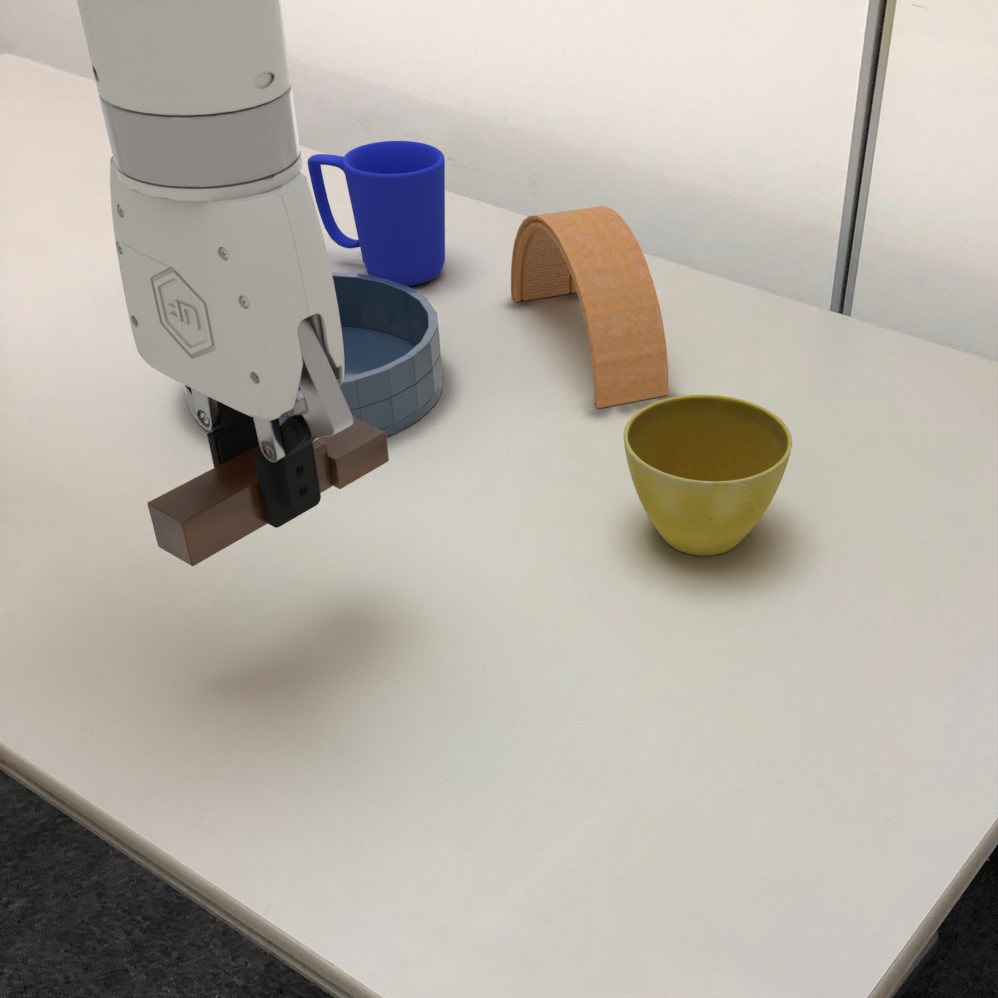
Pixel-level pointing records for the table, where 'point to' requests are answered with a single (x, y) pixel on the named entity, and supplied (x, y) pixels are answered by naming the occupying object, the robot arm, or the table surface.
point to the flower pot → (706, 468)
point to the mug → (391, 207)
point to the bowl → (384, 352)
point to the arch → (598, 295)
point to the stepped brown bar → (252, 493)
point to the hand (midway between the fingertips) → (271, 499)
